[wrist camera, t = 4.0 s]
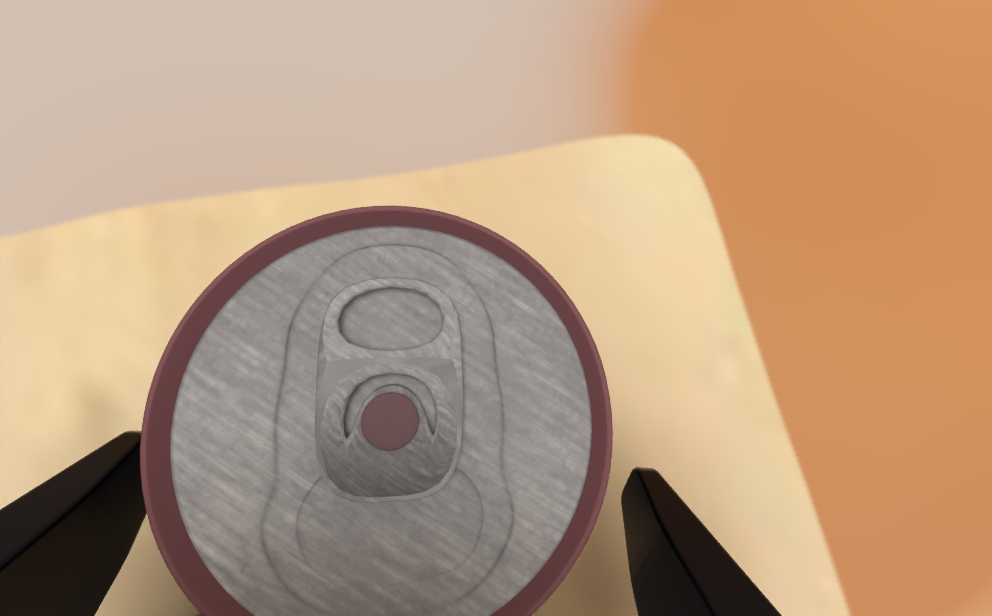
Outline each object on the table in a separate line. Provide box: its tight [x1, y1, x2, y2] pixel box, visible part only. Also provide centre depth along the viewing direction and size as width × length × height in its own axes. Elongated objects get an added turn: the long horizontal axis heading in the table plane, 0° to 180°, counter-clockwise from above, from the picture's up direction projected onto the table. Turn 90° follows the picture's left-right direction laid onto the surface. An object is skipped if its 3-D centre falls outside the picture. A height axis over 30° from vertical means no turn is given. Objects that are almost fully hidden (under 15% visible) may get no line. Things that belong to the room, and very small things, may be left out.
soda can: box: [140, 206, 613, 616], centre depth 12 cm, size 7×7×12 cm
